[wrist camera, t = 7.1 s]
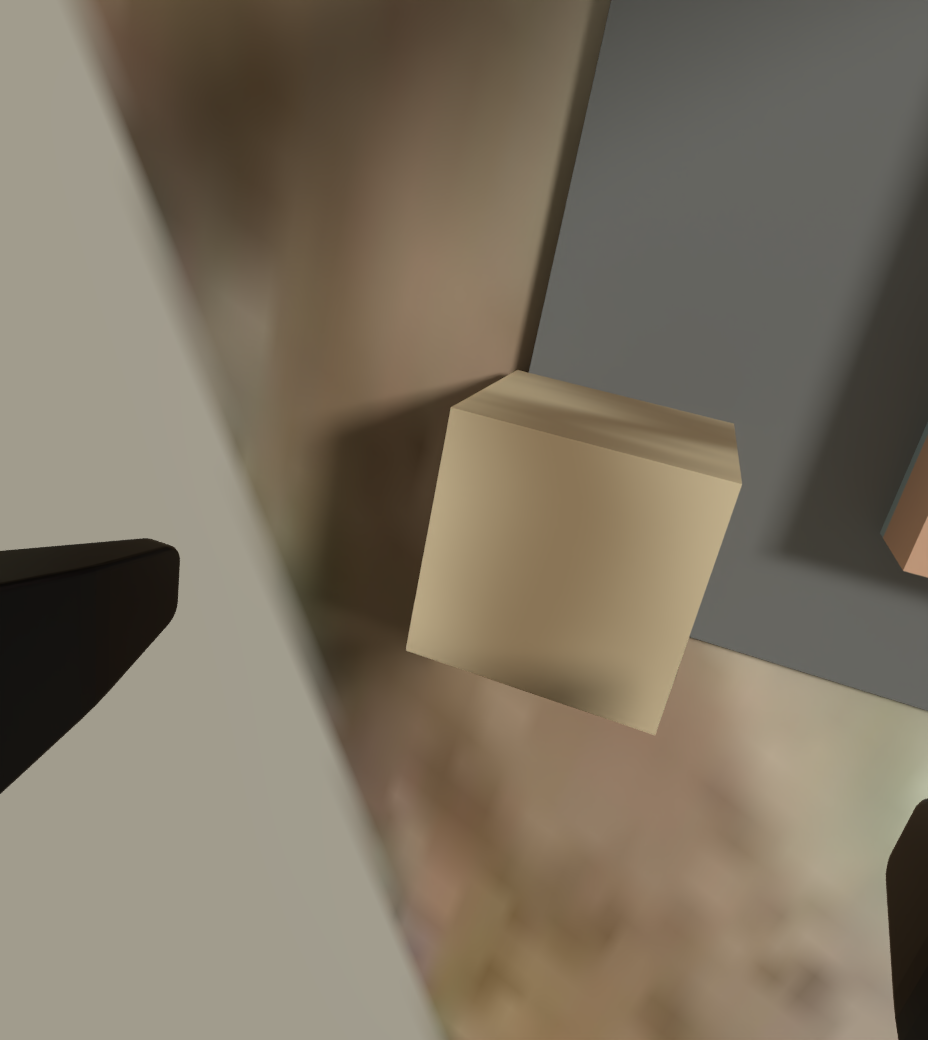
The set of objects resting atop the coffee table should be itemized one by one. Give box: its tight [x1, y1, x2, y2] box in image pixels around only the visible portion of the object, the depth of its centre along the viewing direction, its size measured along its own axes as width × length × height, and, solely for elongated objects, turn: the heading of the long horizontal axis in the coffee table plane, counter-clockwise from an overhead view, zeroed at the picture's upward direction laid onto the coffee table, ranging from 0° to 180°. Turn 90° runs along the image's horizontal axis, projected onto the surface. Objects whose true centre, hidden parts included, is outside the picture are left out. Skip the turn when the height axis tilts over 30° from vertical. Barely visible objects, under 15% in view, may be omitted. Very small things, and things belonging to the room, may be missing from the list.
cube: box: [406, 370, 742, 735], centre depth 14 cm, size 4×4×4 cm
